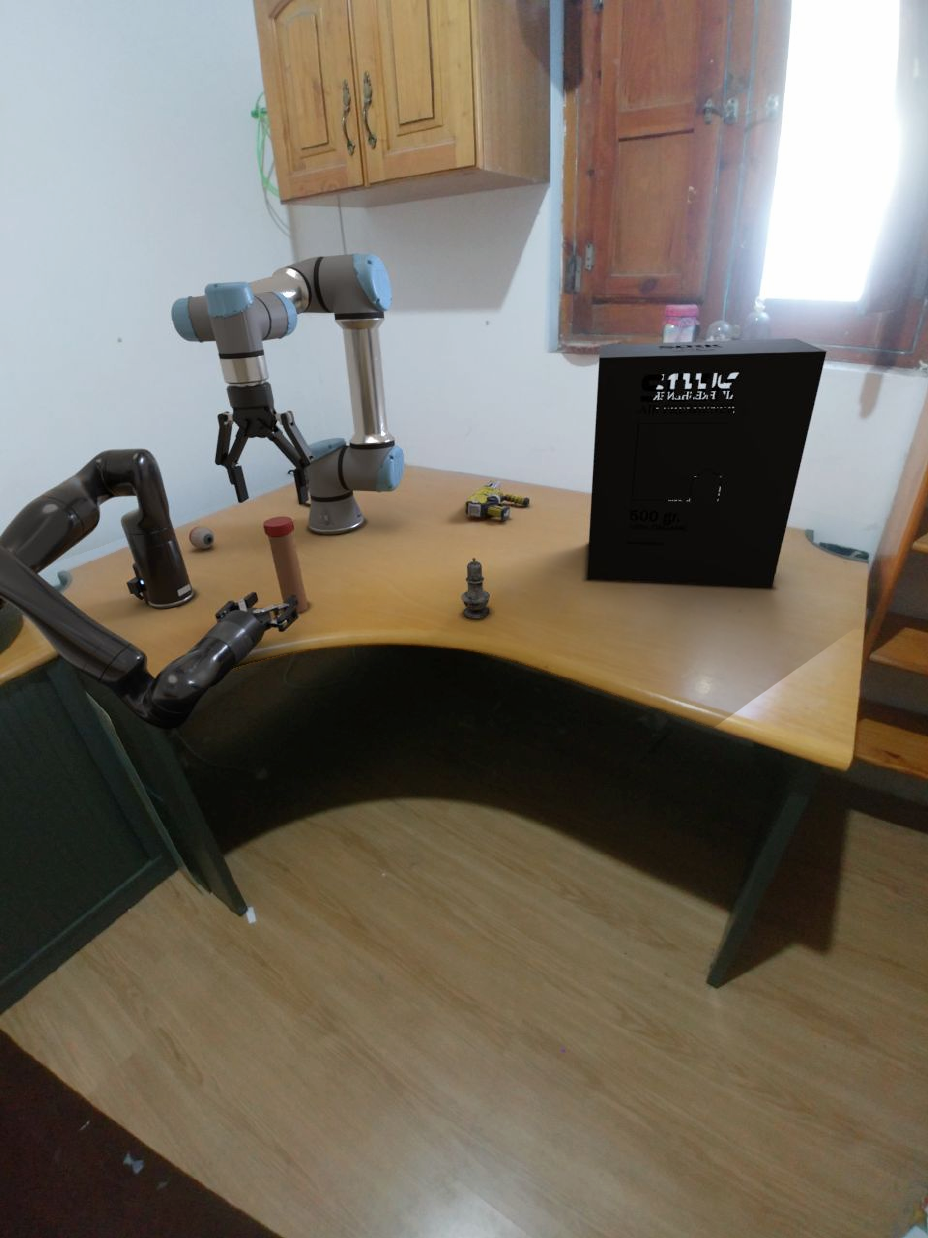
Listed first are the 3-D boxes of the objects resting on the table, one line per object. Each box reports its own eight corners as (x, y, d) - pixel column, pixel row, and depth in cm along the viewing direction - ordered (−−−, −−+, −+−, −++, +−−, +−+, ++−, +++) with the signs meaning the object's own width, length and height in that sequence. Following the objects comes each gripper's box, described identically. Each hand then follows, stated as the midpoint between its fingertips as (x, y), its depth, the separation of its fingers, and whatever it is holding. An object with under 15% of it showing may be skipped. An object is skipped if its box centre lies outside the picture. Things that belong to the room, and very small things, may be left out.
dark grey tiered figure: (488, 619, 119) (486, 564, 113) (459, 618, 120) (455, 563, 114) (493, 605, 124) (491, 551, 118) (465, 604, 125) (462, 550, 119)
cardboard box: (752, 548, 142) (795, 338, 119) (772, 587, 124) (826, 351, 102) (589, 543, 149) (600, 344, 127) (586, 579, 132) (599, 357, 110)
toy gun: (537, 485, 181) (489, 478, 185) (516, 509, 160) (463, 500, 164) (535, 500, 183) (488, 493, 187) (515, 526, 163) (463, 517, 167)
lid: (270, 539, 116) (268, 528, 115) (260, 530, 120) (258, 521, 119) (298, 531, 119) (296, 521, 118) (288, 523, 123) (285, 514, 122)
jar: (289, 615, 125) (270, 529, 116) (281, 607, 129) (262, 523, 119) (311, 608, 127) (294, 523, 118) (302, 600, 131) (285, 517, 121)
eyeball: (203, 554, 156) (196, 532, 153) (187, 550, 159) (181, 528, 156) (222, 546, 160) (216, 524, 157) (206, 542, 163) (200, 521, 160)
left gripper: (200, 654, 109) (247, 611, 122) (272, 661, 106) (311, 616, 120) (189, 619, 105) (238, 578, 119) (263, 625, 102) (305, 582, 116)
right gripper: (321, 377, 106) (339, 496, 117) (199, 380, 111) (227, 493, 122) (302, 385, 100) (324, 509, 110) (173, 387, 105) (206, 506, 116)
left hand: (275, 597), depth 119 cm, fingers open, 8 cm apart
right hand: (273, 501), depth 116 cm, fingers open, 12 cm apart
